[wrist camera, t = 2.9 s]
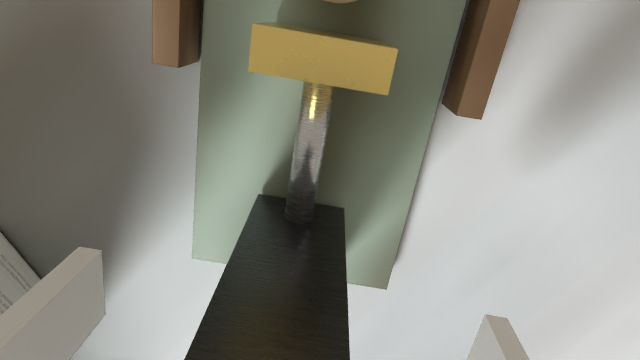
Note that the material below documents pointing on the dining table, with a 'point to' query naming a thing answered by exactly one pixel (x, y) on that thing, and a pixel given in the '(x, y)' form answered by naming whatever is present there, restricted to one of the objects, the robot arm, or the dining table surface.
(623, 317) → the dining table surface
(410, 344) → the dining table surface
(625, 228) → the dining table surface
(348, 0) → the ball
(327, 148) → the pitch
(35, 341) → the robot arm
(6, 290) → the skincare box
